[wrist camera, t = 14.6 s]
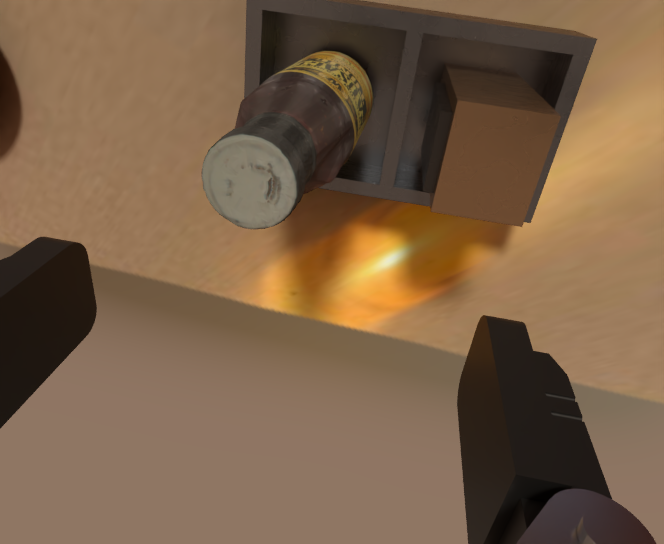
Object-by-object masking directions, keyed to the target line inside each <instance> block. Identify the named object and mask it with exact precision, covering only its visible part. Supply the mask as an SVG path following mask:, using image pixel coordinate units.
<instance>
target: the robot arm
mask: <svg viewBox="0 0 664 544" xmlns="http://www.w3.org/2000/svg"><path fill="white" fill-rule="evenodd" d="M96 309H97V307H96V300H95V295H94V288H93V283H92V278H91V271H90V265H89V259H88V254H87V251H86V249H85V247H84V246H83V245H82V244H80V243H77V242H71V241H66V240H60V239H54V238H49V237H39V238H37V239H35V240H34V241H32V242H31V243H29V244H28V245H26V246H25V247H23V248H22V249H20V250H19V251H18V252H16V253H15V254H13V255H12V256H10V257H7V258H5V259H2V260H0V428H1V427H2V426H3V425H4V424H5V423H6V422H7V421H8V420H9V419H10V418H11V417H12V415H13V414H14V413H15V412H16V411H17V410H18V409H19V408H20V407H21V406H22V405H23V404H24V403H25V401H26V400H27V399H28V398H29V397H30V396H31V395H32V394H33V393H34V392H35V391H36V390H37V389H38V388H39V386H40V385H41V384H42V383H43V382H44V381H45V380H46V379H47V378H48V377H49V376H50V375H51V374H52V373H53V371H54V370H55V369H56V368H57V367H58V366H59V365H60V364H61V363H62V362H63V361H64V360H65V359H66V358H67V356H68V355H69V354H70V353H71V352H72V351H73V350H74V349H75V348H76V347H77V346H78V345H79V344H80V342H81V341H82V340H83V339H84V338H85V337H86V336H87V335H88V334H89V332H90V331H91V329H92V326H93V324H94V321H95V318H96ZM457 406H458V420H459V432H460V443H461V458H462V470H463V482H464V495H465V508H466V520H467V533H468V544H656V542H655V541H654V539H653V537H652V536H651V534H650V533H649V531H648V530H647V529H646V527H645V526H644V525H643V524H642V523H641V522H640V521H639V520H638V519H637V518H636V517H635V516H634V515H633V514H632V513H631V512H629V511H628V510H627V509H626V508H624V507H623V506H622V505H620V504H618V503H617V502H615V501H614V500H612V497H611V495H610V492H609V489H608V486H607V484H606V481H605V478H604V475H603V473H602V470H601V467H600V464H599V462H598V459H597V456H596V453H595V450H594V448H593V445H592V442H591V439H590V436H589V434H588V431H587V428H586V426H585V423H584V422H582V414H581V412H580V409H579V406H578V403H577V402H575V395H574V392H573V389H572V387H571V384H570V381H569V378H568V376H567V374H566V373H565V372H564V371H563V369H562V368H561V367H560V366H559V365H558V364H557V363H556V361H555V360H554V359H553V358H552V357H551V356H550V354H548V353H542V352H536V351H533V349H532V345H531V342H530V339H529V335H528V332H527V328H526V326H525V324H524V323H523V322H519V321H514V320H508V319H502V318H497V317H491V316H485V315H483V316H482V317H481V318H480V320H479V323H478V325H477V328H476V331H475V334H474V337H473V341H472V344H471V347H470V350H469V353H468V356H467V359H466V362H465V365H464V368H463V371H462V374H461V379H460V383H459V389H458V400H457Z"/></svg>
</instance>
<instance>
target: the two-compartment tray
mask: <svg viewBox="0 0 664 544" xmlns="http://www.w3.org/2000/svg"><path fill="white" fill-rule="evenodd" d="M596 40H597V39H596V38H593V37H590V36H587V35H584V34H582V33H579V32H576V31H571V30H564V29H557V28H550V27H543V26H536V25H529V24H522V23H515V22H508V21H501V20H494V19H487V18H480V17H473V16H466V15H459V14H452V13H445V12H438V11H431V10H424V9H417V8H410V7H403V6H396V5H388V4H381V3H374V2H367V1H360V0H247V10H246V51H245V92H244V99H245V98H246V97H247V96H248V95H249V94H251V93H252V92H253V91H254V90H255V89H256V88H258V87H259V86H260V85H261V84H262V83H263V82H264V81H266V80H267V79H268V78H270V77H271V76H273V75H275V74H277V73H278V72H280V71H282V70H284V69H286V68H288V67H289V66H291V65H293V64H295V63H297V62H298V61H300V60H302V59H303V58H305V57H307V56H309V55H311V54H313V53H316V52H321V51H336V52H340V53H343V54H345V55H347V56H349V57H351V58H353V59H354V60H356V61H357V62H358V63H359V64H360V65H361V67H362V68H363V69H364V70H365V71H366V74H367V76H368V78H369V80H370V83H371V87H372V91H373V105H372V110H371V114H370V116H369V119H368V121H367V123H366V125H365V127H364V129H363V131H362V133H361V135H360V137H359V139H358V141H357V143H356V145H355V147H354V149H353V151H352V153H351V155H350V157H349V158H348V160H347V161H346V162H345V164H344V165H343V166H342V167H341V169H340V171H339V172H338V174H337V176H336V177H335V178H334V180H333V181H332V182H330V183H326V184H325V185H323V186H321V187H319V188H322V189H328V190H334V191H340V192H346V193H352V194H358V195H364V196H370V197H376V198H382V199H388V200H394V201H400V202H406V203H412V204H418V205H424V206H430V207H431V212H436V213H442V214H448V215H454V216H460V217H466V218H472V219H478V220H484V221H490V222H496V223H502V224H508V225H514V226H520V227H522V225H523V222H527V223H531V220H532V217H533V215H534V212H535V209H536V206H537V204H538V201H539V198H540V195H541V192H542V190H543V187H544V184H545V181H546V179H547V176H548V173H549V170H550V168H551V165H552V162H553V159H554V157H555V154H556V151H557V148H558V146H559V143H560V140H561V137H562V134H563V132H564V129H565V126H566V123H567V121H568V118H569V115H570V112H571V110H572V107H573V104H574V101H575V99H576V96H577V93H578V90H579V87H580V85H581V82H582V79H583V76H584V74H585V71H586V68H587V65H588V63H589V60H590V57H591V54H592V52H593V49H594V46H595V43H596Z"/></svg>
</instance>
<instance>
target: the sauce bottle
mask: <svg viewBox="0 0 664 544" xmlns="http://www.w3.org/2000/svg"><path fill="white" fill-rule="evenodd" d="M372 105H373V91H372V87H371V83H370V80H369V78H368V76H367V74H366V71H365V70H364V69H363V68H362V67H361V65H360V64H359V63H358V62H357V61H356V60H354V59H353V58H351V57H349V56H347V55H345V54H343V53H340V52H336V51H321V52H316V53H313V54H311V55H309V56H307V57H305V58H303V59H302V60H300V61H298V62H297V63H295V64H293V65H291V66H289V67H288V68H286V69H284V70H282V71H280V72H278V73H277V74H275V75H273V76H271V77H270V78H268V79H267V80H266V81H264V82H263V83H262V84H261V85H260V86H259V87H258V88H256V89H255V90H254V91H253V92H252V93H251V94H249V95H248V96H247V97H246V98H245V99H244V100H242V102H241V104H240V109H239V113H238V117H237V121H236V126H235V129H233V130H232V131H230V132H229V133H227V134H226V135H224V136H223V137H222V138H221V139H220V140H219V141H217V142H216V143H215V144H214V145H213V146H212V147H211V148H210V149H209V151H208V153H207V155H206V157H205V159H204V162H203V168H202V180H203V189H204V191H205V193H206V196H207V198H208V200H209V201H210V203H211V205H212V206H213V207H214V209H215V210H216V211H217V212H218V213H219V214H220V215H221V216H223V217H224V218H226V219H228V220H229V221H230V222H232V223H233V224H235V225H237V226H240V227H243V228H248V229H265V228H268V227H271V226H275V225H277V224H279V223H280V222H282V221H284V220H285V218H287V217H288V216H289V215H290V214H291V212H292V211H293V210H294V209H295V207H296V206H297V204H298V203H299V202H300V200H301V198H302V196H303V194H304V193H308V192H310V191H312V190H313V189H315V188H319V187H321V186H323V185H325V184H326V183H330V182H332V181H333V180H334V178H335V177H336V176H337V174H338V172H339V171H340V169H341V167H342V166H343V165H344V164H345V162H346V161H347V160H348V158H349V157H350V155H351V153H352V151H353V149H354V147H355V145H356V143H357V141H358V139H359V137H360V135H361V133H362V131H363V129H364V127H365V125H366V123H367V121H368V119H369V116H370V114H371V110H372Z"/></svg>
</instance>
